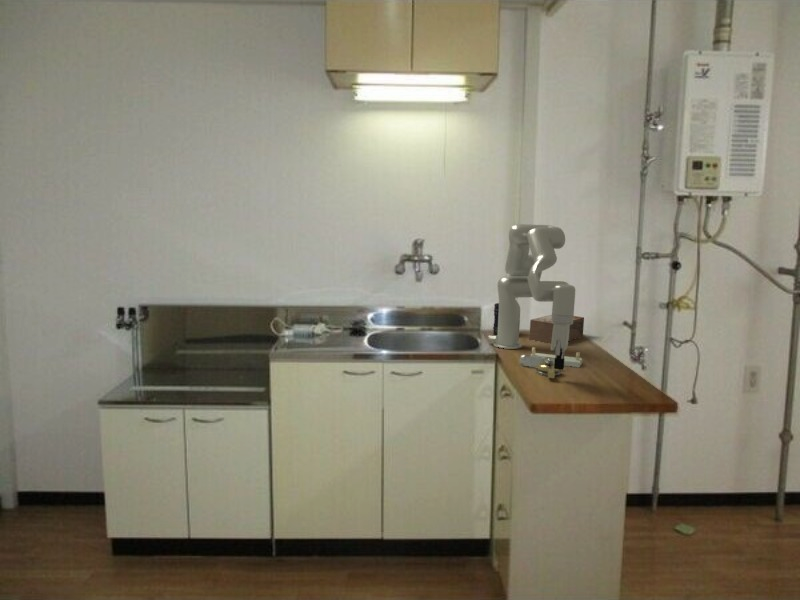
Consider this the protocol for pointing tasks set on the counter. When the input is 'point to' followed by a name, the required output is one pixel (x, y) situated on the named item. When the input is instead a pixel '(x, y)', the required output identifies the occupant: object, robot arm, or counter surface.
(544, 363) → the gold handled disc
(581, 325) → the tissue box cover
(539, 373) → the round gray base
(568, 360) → the peg rest
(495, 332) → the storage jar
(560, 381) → the counter surface
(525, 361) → the steel bar
